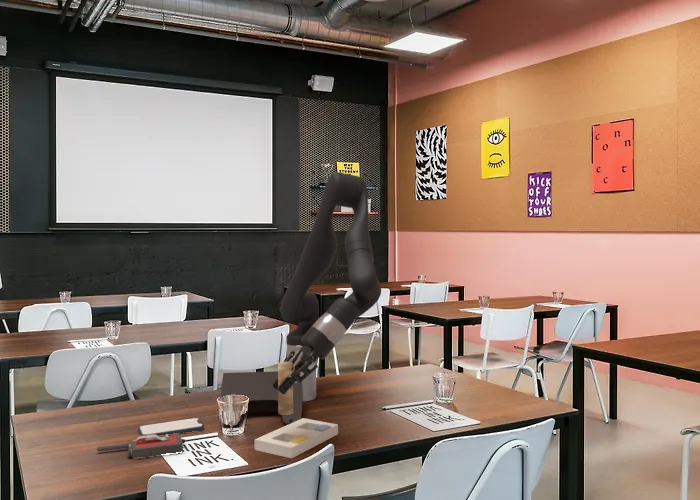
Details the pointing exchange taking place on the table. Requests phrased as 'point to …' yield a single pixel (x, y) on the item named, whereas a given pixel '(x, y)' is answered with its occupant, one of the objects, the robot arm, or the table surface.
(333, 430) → the socket plate
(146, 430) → the phone case
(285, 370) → the dowel
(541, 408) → the table surface
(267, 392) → the portable electronic device stand
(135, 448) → the walkie-talkie
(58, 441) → the table surface
